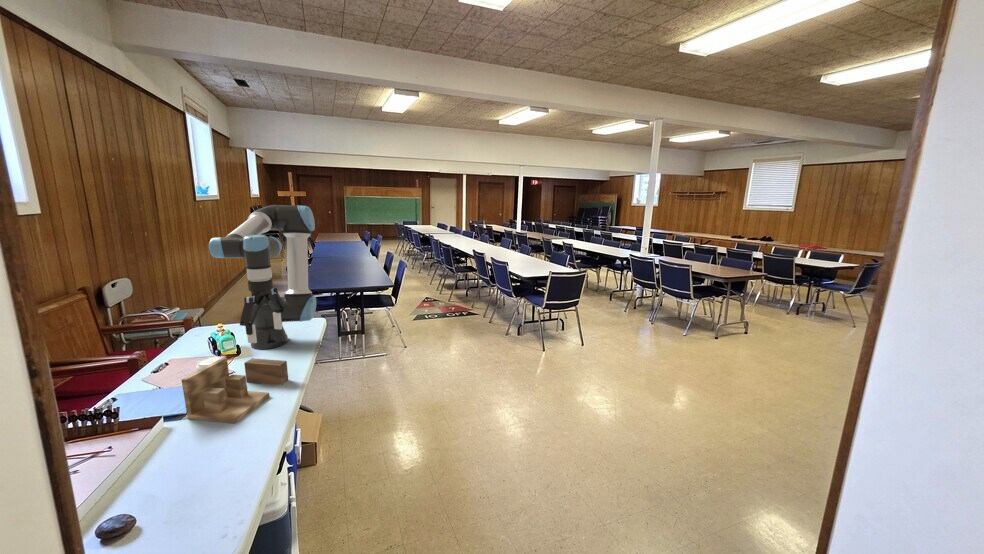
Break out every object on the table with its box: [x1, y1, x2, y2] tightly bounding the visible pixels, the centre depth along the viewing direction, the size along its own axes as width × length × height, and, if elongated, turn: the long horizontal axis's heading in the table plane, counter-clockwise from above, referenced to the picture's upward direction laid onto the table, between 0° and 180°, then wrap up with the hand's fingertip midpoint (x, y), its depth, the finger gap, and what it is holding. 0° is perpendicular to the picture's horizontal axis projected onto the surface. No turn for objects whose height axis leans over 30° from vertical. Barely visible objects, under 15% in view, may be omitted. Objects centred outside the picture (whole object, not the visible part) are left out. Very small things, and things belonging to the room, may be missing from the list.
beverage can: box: [195, 355, 223, 372], centre depth 134 cm, size 8×8×12 cm
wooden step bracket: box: [181, 357, 270, 424], centre depth 125 cm, size 16×16×14 cm
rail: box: [243, 357, 289, 386], centre depth 143 cm, size 4×14×8 cm, turn 85°
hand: (266, 335), depth 138 cm, fingers open, 13 cm apart
